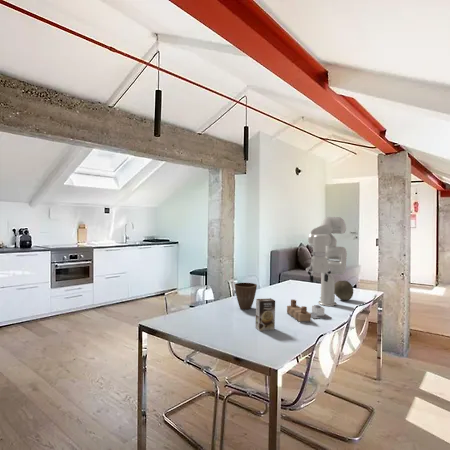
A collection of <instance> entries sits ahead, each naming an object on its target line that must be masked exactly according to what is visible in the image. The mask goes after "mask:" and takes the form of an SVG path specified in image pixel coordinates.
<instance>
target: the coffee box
mask: <svg viewBox="0 0 450 450" xmlns="http://www.w3.org/2000/svg"><path fill="white" fill-rule="evenodd" d="M275 320H276V300H275V299H273V298H271V297H270V298H256V299H255V325H254V326H255V328H256V330H258V331H259V332H264V331H275V322H276V321H275Z"/></svg>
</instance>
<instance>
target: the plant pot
mask: <svg viewBox="0 0 450 450" xmlns="http://www.w3.org/2000/svg"><path fill="white" fill-rule="evenodd" d="M257 286H258V285H257V284H256V283H253V282H237V283H235V284H234V290H235V296H236V300H237V303H238V306H239V309H240V310H245V311H246V310H251V309H252V307H253V303H254V302H255V301H254V300H255V296H256V293H257Z"/></svg>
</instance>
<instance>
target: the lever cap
mask: <svg viewBox="0 0 450 450" xmlns="http://www.w3.org/2000/svg"><path fill="white" fill-rule="evenodd" d="M311 313H312V314H313V315H315V316H316V317H324V313H325V307H324V306H323V307H322V305H320V304H317V305H316V304H314V305H312V306H311Z"/></svg>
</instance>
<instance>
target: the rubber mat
mask: <svg viewBox="0 0 450 450" xmlns="http://www.w3.org/2000/svg"><path fill="white" fill-rule="evenodd" d="M309 313H310V314H311V319H312V318H313V320H317V319H316V318H328V319H332V318H333V317H331V316H329V315H328V314H326V313H325V312H324V317H316V316H315V315H313V314H312V312H309Z"/></svg>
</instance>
